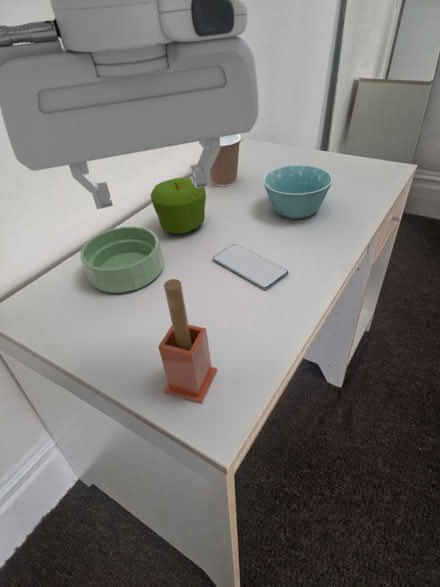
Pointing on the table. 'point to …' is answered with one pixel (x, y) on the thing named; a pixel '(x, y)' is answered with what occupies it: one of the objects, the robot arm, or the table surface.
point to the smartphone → (251, 266)
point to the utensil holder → (187, 365)
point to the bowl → (297, 189)
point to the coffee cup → (226, 161)
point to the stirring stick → (178, 313)
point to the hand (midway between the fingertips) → (154, 194)
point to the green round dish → (122, 259)
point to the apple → (179, 205)
